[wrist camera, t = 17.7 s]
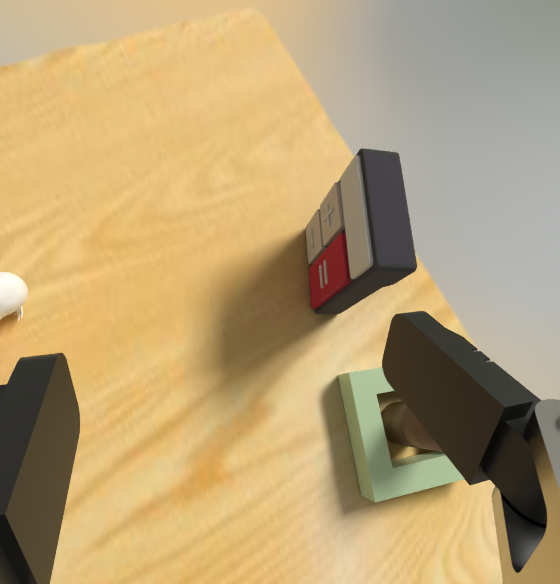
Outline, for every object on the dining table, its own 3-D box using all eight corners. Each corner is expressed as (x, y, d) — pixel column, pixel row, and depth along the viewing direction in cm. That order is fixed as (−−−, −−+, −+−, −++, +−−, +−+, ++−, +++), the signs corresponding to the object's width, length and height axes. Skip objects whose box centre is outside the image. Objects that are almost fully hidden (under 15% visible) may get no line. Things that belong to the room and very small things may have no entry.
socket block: (460, 470, 41) (480, 474, 39) (361, 495, 38) (375, 502, 35) (432, 360, 44) (448, 356, 42) (337, 375, 41) (348, 372, 38)
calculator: (301, 225, 46) (353, 144, 32) (335, 227, 47) (399, 150, 33) (308, 314, 42) (367, 268, 29) (344, 314, 43) (418, 270, 30)
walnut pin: (421, 440, 41) (482, 448, 33) (385, 448, 40) (438, 458, 32) (411, 399, 42) (467, 396, 34) (376, 405, 41) (425, 404, 33)
